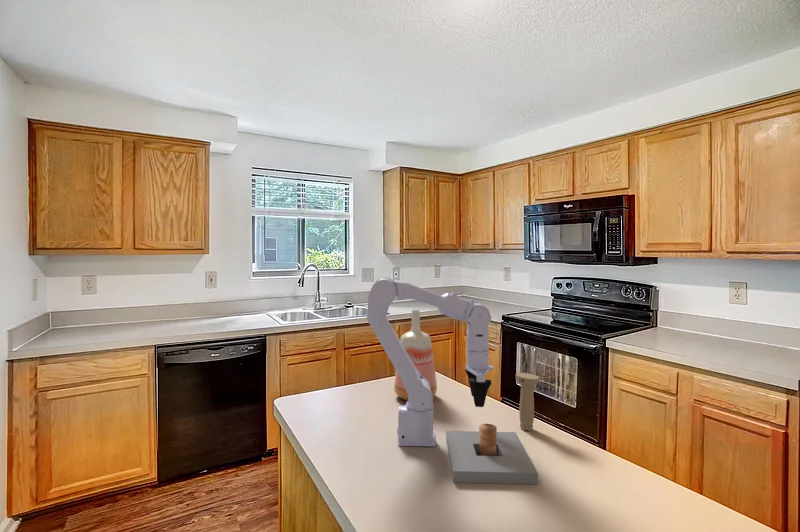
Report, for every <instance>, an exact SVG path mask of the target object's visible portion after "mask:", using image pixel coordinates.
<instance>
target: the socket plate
mask: <svg viewBox="0 0 800 532" xmlns="http://www.w3.org/2000/svg"><path fill="white" fill-rule="evenodd" d="M445 432H446V433H445V439H446V440H445V442H446V448H447V453H448V454H447V455H448V459H449V466H450V470H451V471H450V472H451V477H452V483H453V484H454V483H457V484H458V483H459V484H503V485H504V484H505V485H539V483H538V482H539V481H538V480H539V472H538V471H537V469H536V467H535V465H534V463H533V461H532V460H531V458H530V456H529V454H528V452H527V451H526V449H525V446H524V445H523V444H522V442H521V440H520V438H519V436H518V434H517V432H516V431H515V432H514V431H512V432H511V431H497V439H496V456H479V431H475V430H474V431H471V430H469V431H468V430H465V431H464V430H460V431H459V430H446V431H445ZM477 454H478V455H477Z"/></svg>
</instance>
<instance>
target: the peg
mask: <svg viewBox="0 0 800 532" xmlns="http://www.w3.org/2000/svg"><path fill="white" fill-rule="evenodd" d="M478 429H479V430H478V432H479V454H478V456H497V454H496V439H497V432H498V431H497V430H498V429H497V426H496V425H494V424H493V423H492V424H491V423H482V424H480V425H479V428H478Z"/></svg>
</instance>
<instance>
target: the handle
mask: <svg viewBox="0 0 800 532" xmlns="http://www.w3.org/2000/svg"><path fill="white" fill-rule="evenodd" d="M515 380H516V381H518V382H519V384H520V397H519V407H518V408H519V421H520V423H519V426H520V428H521V430H522V431H528V432H530V431H532V430H533V429H534V425H533V424H534V419H535V397H534V385H537V384H538V383H540V376H538V375H536V374H531V373H527V372H518V373H515Z"/></svg>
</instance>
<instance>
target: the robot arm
mask: <svg viewBox="0 0 800 532" xmlns="http://www.w3.org/2000/svg"><path fill="white" fill-rule="evenodd" d="M396 297H397V301H401V300H404V299H405V300H406V299H412V300H415V301H418V302H421V303H424V304H427V305H431V306H434V307H436V308H437V310H438V311H439V314H442V315H444V316H447V317H450V318H452V319H454V320H458V321H461V322H466V321H467V322H466V324H467V325H466V327H467V329H466V365H465V369H464V372H465V373H466V376H467V380H468V383H469V387H470V388H469V389H470V393H471V394H470V395H471V396H472V398H473V403H474V406H475V407H476V408H484V406H485V403H486V400H487V399H486V398H487V394H488V391H489V388H490V387H491V385H492V380H491V379H486V375H487V374H488V372H489V371H494V366H493V365H490V364H489V363H490V362H489V361H490V360H489V359H490V357H489V353H490V347H489V346H490V338H489V337H490V336H489V335H490V331H489V325H490V324H491V321H492V318H493V317H492V316H491V311H490V310H489V309H488V308H487V307H486V306H485V305H483V304H482V303H479V302H478V301H475V299H471V298H470V299H467V298H463V297H460V296H458V293H456V292H454V291H452V292H451V293H450V292H446V293H443V294H442V295H441V294H438V293H435V292H433V291H430V290H428V289H425V288H423V287H420V286H417V285H415V284H412V283H410V282H407V281H402V280H399V279H394V280H393V279H392V278H390V277H387V276H386V277H380V278H378V279H377V280H376V281H375V282H374V284H373V285H372V286H371V289H370V290H369V292H368V296H367V312H366V313H367V314H366V319H367V322H368V324H369V326H370V328H371V329H372V331H373V333H374V334H375V336H376V338H377V340H378V342H379V343H380V345H381V346H382V349H383V350H384V352H385V353H386V355H387V356H388V359H389V360H390V362H391V363H392V365H393V367H394V369H395V372H396V371H397V372H398V374H399V376H400V378H401V380H402V382H403V385H404V388H405V390H406V391H407V394H408V401H406V403H405V405H404V404H403V405H399V406H398V416H397V417H398V418H397V419H398V420H397V423H398V425H397V428H396V435H397V442H398V443H397V445H398V446H399V447H405V446H406V447H436V437H435V431H434V403H433V402H434V396H433V395H432V392H431V386H430V383H429V381H428V380H427V379H426V378H424V377H423V376H422V375H421V374H420V372H419V371H418V370H417V368H416V367H415V366H414V364H413V362H412V360H411V359H410V357H409V355H408V354H407V352H406V350H405V348H404V347H403V345H402V343H401V341H400V340H401V339H400V338H399V336H398V334H397V332H396V331H395V329H394V328H393V326H392V323H390V321H389V319H388V317H387V315H388V311H389V309H390V308H389V307H390V306H391V304H392V303H393V301H394V300H395V298H396Z"/></svg>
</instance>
